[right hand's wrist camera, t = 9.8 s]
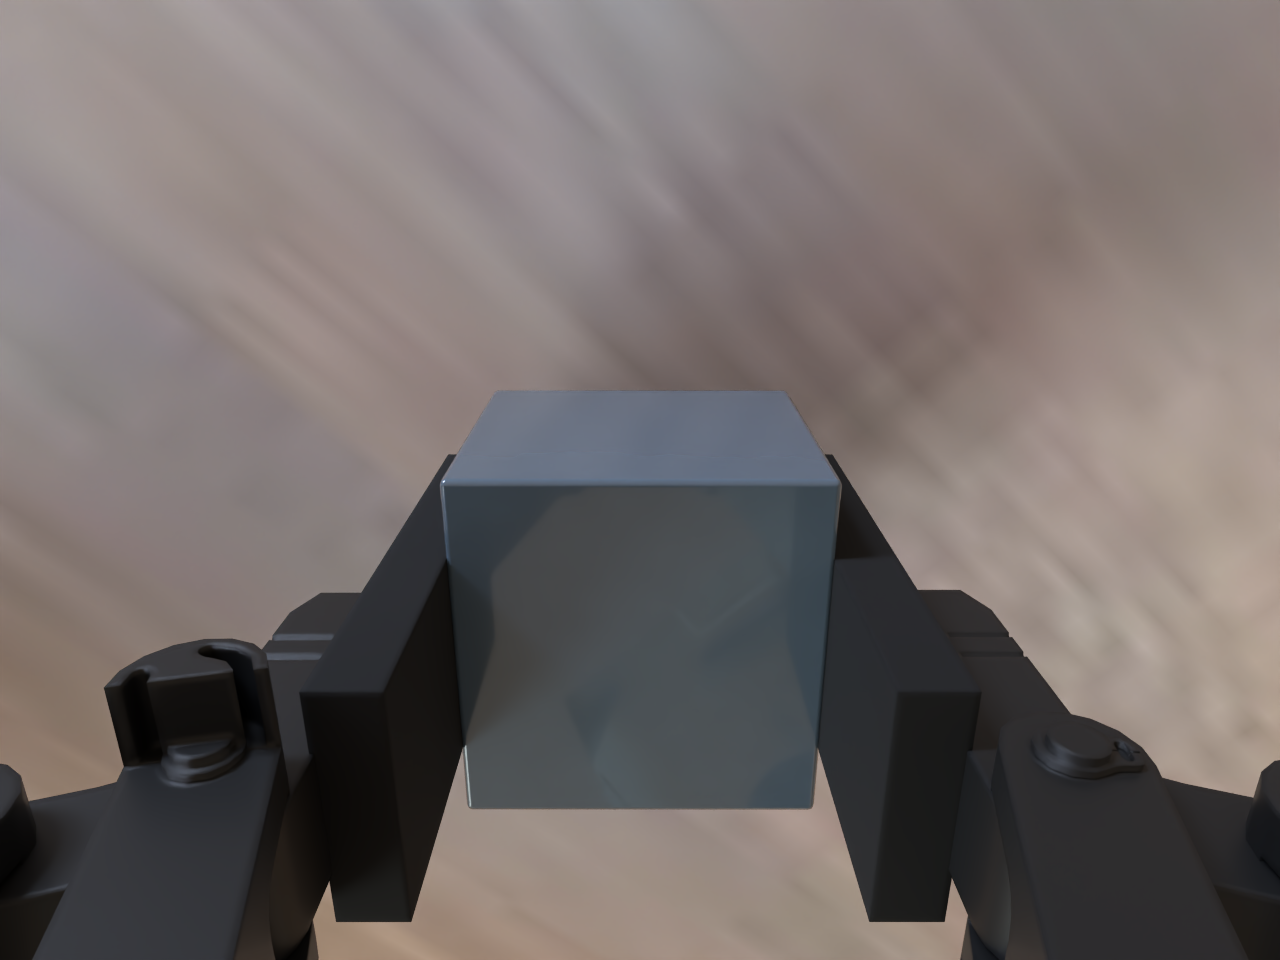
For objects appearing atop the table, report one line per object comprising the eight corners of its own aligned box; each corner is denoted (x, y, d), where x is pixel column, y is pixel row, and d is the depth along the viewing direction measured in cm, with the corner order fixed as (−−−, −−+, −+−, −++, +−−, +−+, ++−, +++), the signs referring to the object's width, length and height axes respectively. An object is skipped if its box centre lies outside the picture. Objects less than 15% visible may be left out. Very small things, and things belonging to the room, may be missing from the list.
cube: (493, 389, 14) (437, 480, 10) (787, 389, 14) (843, 480, 10) (508, 648, 15) (466, 812, 12) (771, 649, 15) (814, 812, 12)
